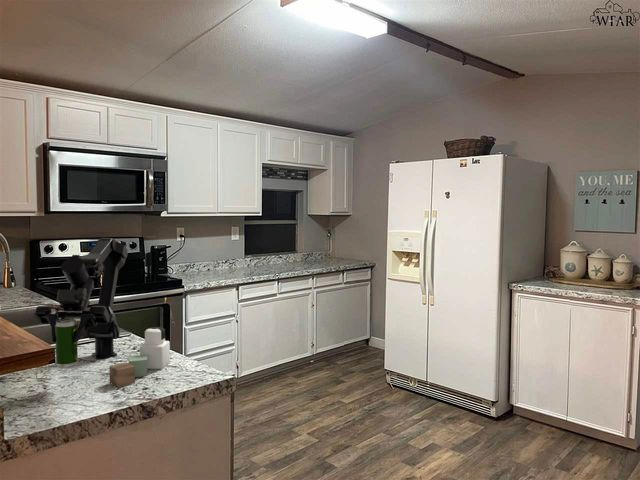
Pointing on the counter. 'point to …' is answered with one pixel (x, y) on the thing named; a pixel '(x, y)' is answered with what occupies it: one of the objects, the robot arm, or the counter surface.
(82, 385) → the counter surface
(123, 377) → the walnut block
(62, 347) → the beer can
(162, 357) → the medicine bottle
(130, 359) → the sage block
